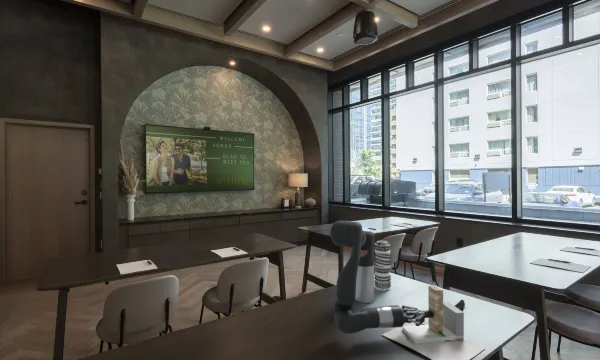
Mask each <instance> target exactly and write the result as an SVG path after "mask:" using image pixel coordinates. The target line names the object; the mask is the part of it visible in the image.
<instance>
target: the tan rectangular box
mask: <svg viewBox="0 0 600 360" xmlns="http://www.w3.org/2000/svg"><path fill="white" fill-rule="evenodd" d="M427 286H428V287H427V288H428V291H427V293H428V296H427V297H428V298H427V299H428V301H427V302H428V310H431V311H432V312H433V317H432V318H428V324H429V328H430V329H431V330H433V331H434V332H435V333H440V334H442V335H443V336H444V337H445V335H444V334H443V302H444V290H443V289H442V288H441V287H439V286H437V285H436V284H435V285H433V284H432V285H427Z"/></svg>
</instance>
